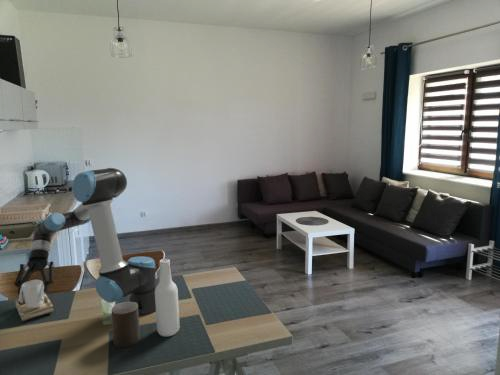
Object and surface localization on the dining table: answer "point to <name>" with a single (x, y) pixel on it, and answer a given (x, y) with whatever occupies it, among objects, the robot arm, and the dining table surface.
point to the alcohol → (166, 302)
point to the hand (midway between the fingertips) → (31, 300)
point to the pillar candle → (125, 324)
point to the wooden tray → (34, 309)
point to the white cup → (32, 293)
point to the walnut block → (23, 301)
